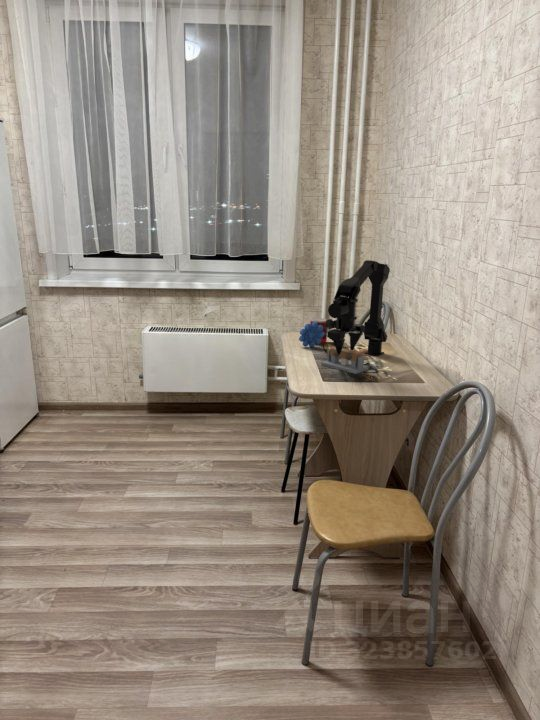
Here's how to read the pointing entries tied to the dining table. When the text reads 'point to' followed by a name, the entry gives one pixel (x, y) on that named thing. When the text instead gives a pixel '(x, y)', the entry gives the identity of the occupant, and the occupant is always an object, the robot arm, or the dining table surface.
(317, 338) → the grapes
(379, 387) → the dining table surface
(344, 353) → the brown rectangular block
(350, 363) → the display cradle
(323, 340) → the canned food
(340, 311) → the robot arm
